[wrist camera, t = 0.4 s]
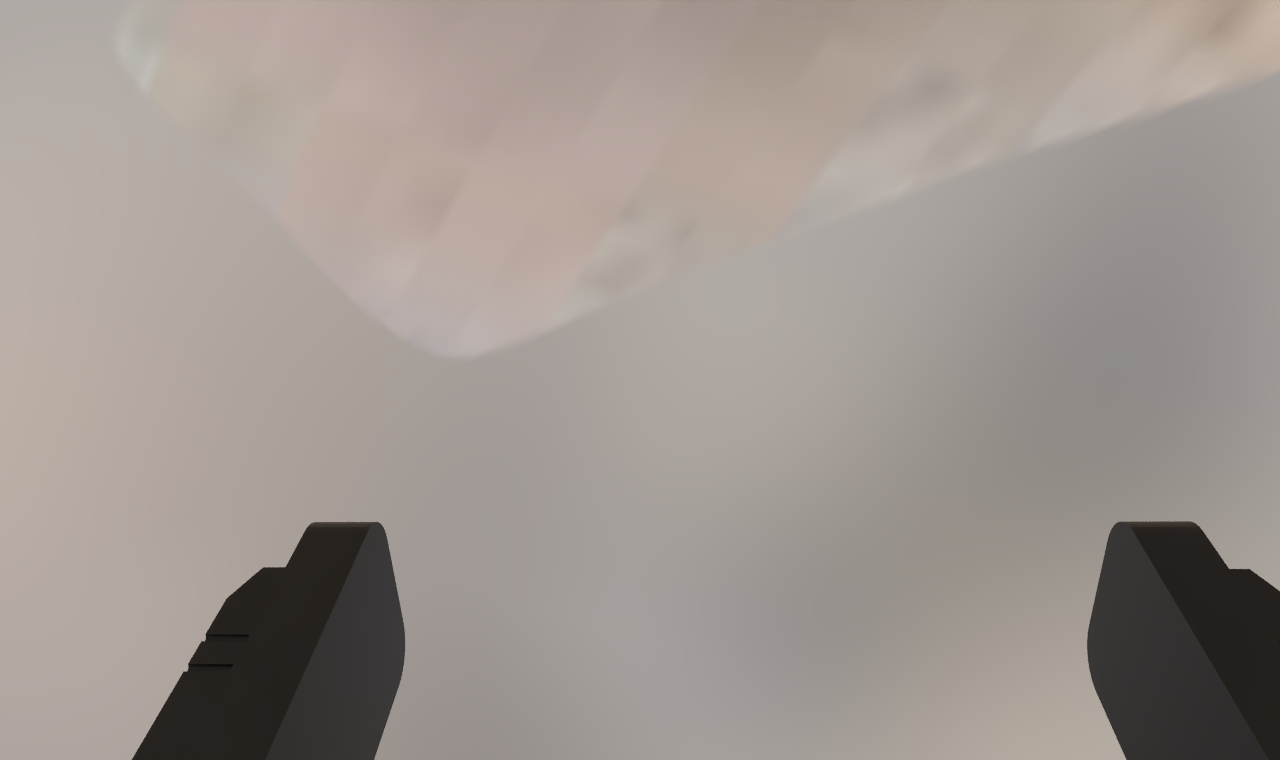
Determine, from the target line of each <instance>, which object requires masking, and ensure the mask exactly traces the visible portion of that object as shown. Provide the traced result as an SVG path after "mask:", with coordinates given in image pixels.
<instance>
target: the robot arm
mask: <svg viewBox="0 0 1280 760" xmlns="http://www.w3.org/2000/svg"><path fill="white" fill-rule="evenodd" d="M1087 650H1088V662H1089V668H1090V673H1091V677H1092V681H1093V684H1094V687H1095V690H1096V692H1097V695H1098V697H1099V699H1100V701H1101V703H1102V706H1103V708H1104V710H1105V712H1106V715H1107V717H1108V719H1109V721H1110V724H1111V726H1112V728H1113V730H1114V733H1115V735H1116V737H1117V739H1118V742H1119V744H1120V746H1121V748H1122V751H1123V753H1124V755H1125V757H1126V759H1127V760H1280V591H1278V590H1277V589H1276V588H1274V587H1273V586H1272V585H1270V584H1269V583H1268V582H1266V581H1265V580H1264V579H1262V578H1261V577H1259V576H1258V575H1257V574H1255V573H1254V572H1253V571H1251V570H1250V569H1229V568H1228V567H1227V565H1226V564H1225V563H1224V561H1223V560H1222V558H1221V557H1220V555H1219V554H1218V552H1217V551H1216V550H1215V548H1214V547H1213V545H1212V544H1211V542H1210V541H1209V539H1208V538H1207V537H1206V535H1205V534H1204V532H1203V531H1202V530H1201V529H1200V527H1199V526H1198V525H1197V524H1195V523H1193V522H1118V523H1116V524H1115V525H1114V526H1113V528H1112V530H1111V532H1110V534H1109V538H1108V542H1107V546H1106V551H1105V556H1104V560H1103V564H1102V569H1101V574H1100V578H1099V583H1098V587H1097V592H1096V597H1095V602H1094V606H1093V611H1092V615H1091V620H1090V625H1089V630H1088V639H1087ZM404 654H405V632H404V624H403V618H402V613H401V608H400V603H399V597H398V593H397V587H396V582H395V577H394V572H393V567H392V561H391V556H390V551H389V546H388V541H387V536H386V533H385V530H384V528H383V526H382V525H381V524H380V523H379V522H315V523H312V524H310V525H309V526H308V527H307V529H306V530H305V532H304V534H303V536H302V538H301V540H300V541H299V543H298V545H297V547H296V549H295V551H294V553H293V554H292V556H291V558H290V560H289V562H288V564H287V566H286V567H283V568H281V567H279V568H262V569H261V570H260V571H259V572H258V573H256V574H255V575H254V576H253V577H251V578H250V579H249V580H248V581H247V582H246V583H244V584H243V585H242V586H241V587H240V588H239V589H237V590H236V591H235V592H234V593H233V594H232V595H230V596H229V597H228V598H227V599H226V601H225V602H224V605H223V606H222V608H221V609H220V611H219V613H218V614H217V616H216V618H215V619H214V621H213V623H212V624H211V626H210V628H209V630H208V631H207V633H206V640H205V642H204V641H203V642H201V643H200V645H199V647H198V648H197V650H196V652H195V653H194V655H193V657H192V658H191V660H190V662H189V664H188V665H189V668H188V671H187V672H183V674H182V676H181V677H180V679H179V681H178V682H177V684H176V686H175V688H174V689H173V691H172V693H171V694H170V696H169V698H168V699H167V701H166V703H165V704H164V706H163V708H162V709H161V711H160V713H159V715H158V716H157V718H156V720H155V722H154V723H153V725H152V726H151V728H150V730H149V732H148V733H147V735H146V737H145V738H144V740H143V742H142V743H141V745H140V747H139V749H138V750H137V752H136V754H135V755H134V757H133V759H132V760H374V758H375V755H376V752H377V749H378V746H379V743H380V740H381V737H382V734H383V731H384V728H385V725H386V722H387V719H388V716H389V713H390V710H391V708H392V704H393V702H394V699H395V695H396V693H397V689H398V687H399V684H400V680H401V676H402V671H403V665H404V656H405V655H404Z"/></svg>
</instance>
